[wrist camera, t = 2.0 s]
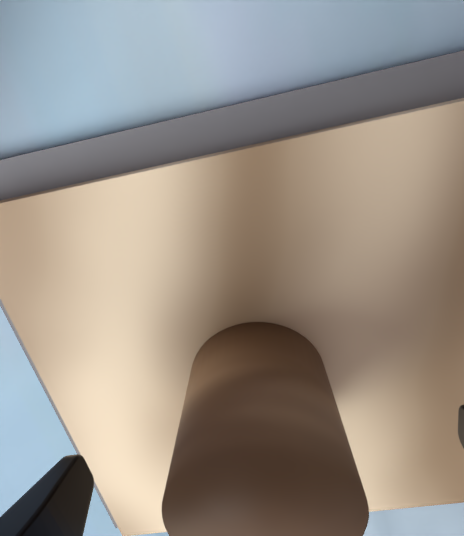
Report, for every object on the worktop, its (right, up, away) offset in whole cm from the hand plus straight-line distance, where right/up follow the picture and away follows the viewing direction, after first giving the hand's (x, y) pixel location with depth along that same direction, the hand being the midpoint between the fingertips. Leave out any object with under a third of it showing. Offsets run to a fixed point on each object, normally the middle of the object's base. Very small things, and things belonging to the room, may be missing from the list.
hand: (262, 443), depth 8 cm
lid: (0, +1, +3) cm, 3 cm away
